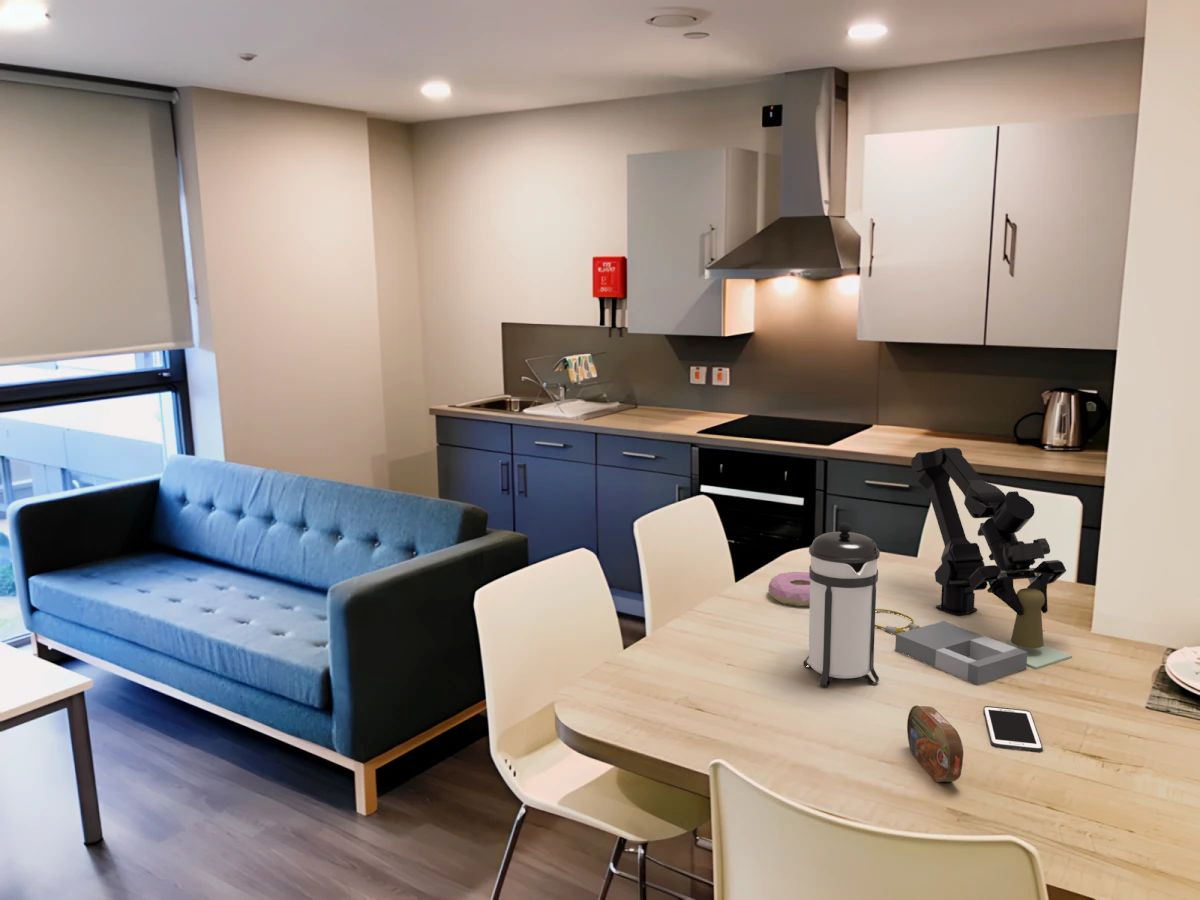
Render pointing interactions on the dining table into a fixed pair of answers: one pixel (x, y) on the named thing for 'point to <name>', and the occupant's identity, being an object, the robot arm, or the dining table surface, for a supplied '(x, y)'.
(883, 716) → the dining table surface
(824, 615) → the coffee press
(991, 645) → the socket block
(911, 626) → the gold chain necklace
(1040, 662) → the mat
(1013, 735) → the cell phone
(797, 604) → the donut
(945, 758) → the tin
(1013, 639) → the cork
